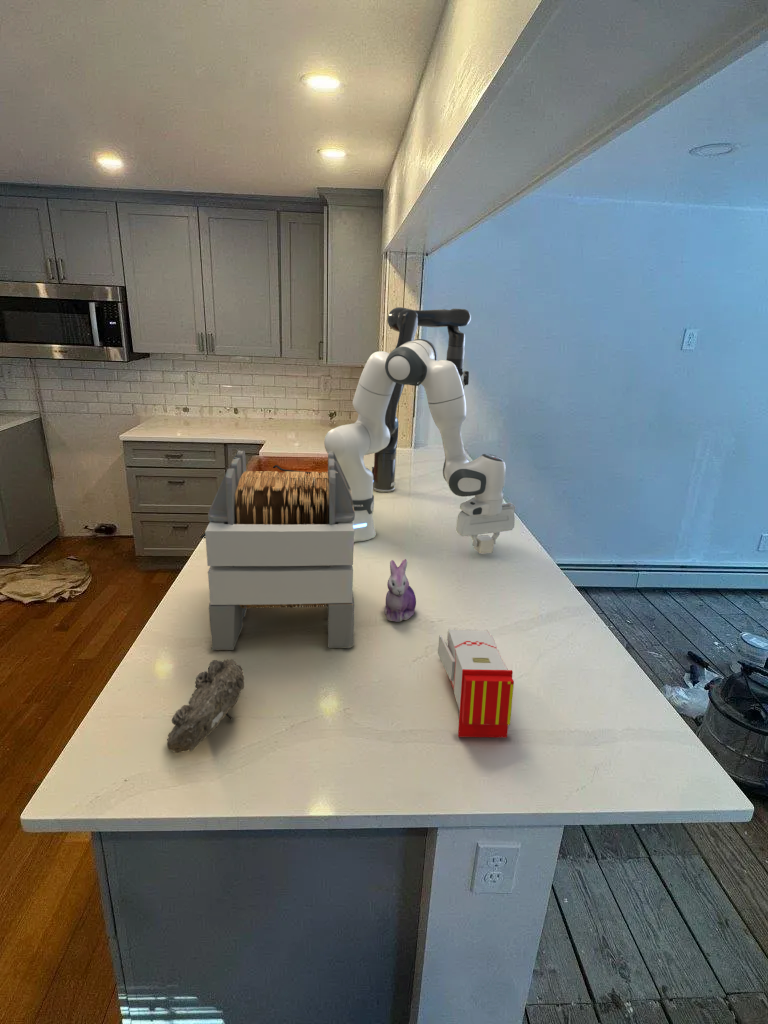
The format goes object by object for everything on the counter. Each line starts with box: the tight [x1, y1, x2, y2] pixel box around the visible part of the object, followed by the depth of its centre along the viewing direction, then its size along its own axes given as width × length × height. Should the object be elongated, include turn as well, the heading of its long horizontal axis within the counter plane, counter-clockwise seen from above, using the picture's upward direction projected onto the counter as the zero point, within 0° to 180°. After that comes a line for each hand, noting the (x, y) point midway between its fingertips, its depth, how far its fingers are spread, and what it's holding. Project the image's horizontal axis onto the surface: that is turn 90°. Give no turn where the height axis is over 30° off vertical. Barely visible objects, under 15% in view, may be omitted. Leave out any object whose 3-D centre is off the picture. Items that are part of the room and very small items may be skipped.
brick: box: [473, 534, 495, 554], centre depth 185 cm, size 5×5×4 cm
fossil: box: [166, 658, 245, 754], centre depth 106 cm, size 22×10×15 cm
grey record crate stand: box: [204, 449, 355, 652], centre depth 138 cm, size 34×33×41 cm
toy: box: [437, 628, 515, 738], centre depth 117 cm, size 12×13×30 cm
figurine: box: [384, 558, 417, 623], centre depth 145 cm, size 9×10×15 cm
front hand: (483, 545), depth 185 cm, fingers closed on brick, 5 cm apart
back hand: (452, 394), depth 252 cm, fingers open, 8 cm apart
